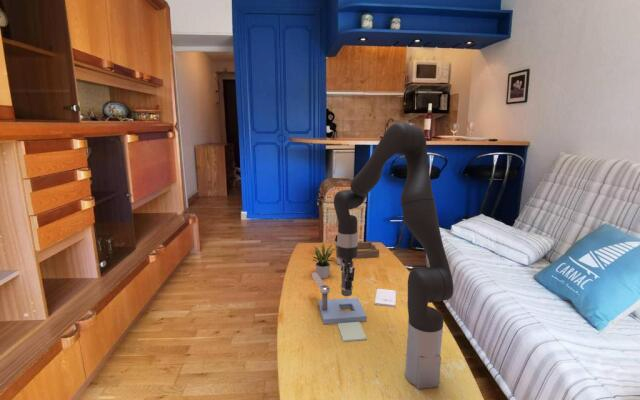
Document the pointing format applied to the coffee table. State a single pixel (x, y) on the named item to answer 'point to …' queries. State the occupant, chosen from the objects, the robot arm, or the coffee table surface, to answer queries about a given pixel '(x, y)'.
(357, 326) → the pad
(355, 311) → the plate
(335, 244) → the coffee cup
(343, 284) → the plug
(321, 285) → the clip
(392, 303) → the external hard drive
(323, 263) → the house plant
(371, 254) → the coaster tray
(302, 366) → the coffee table surface
